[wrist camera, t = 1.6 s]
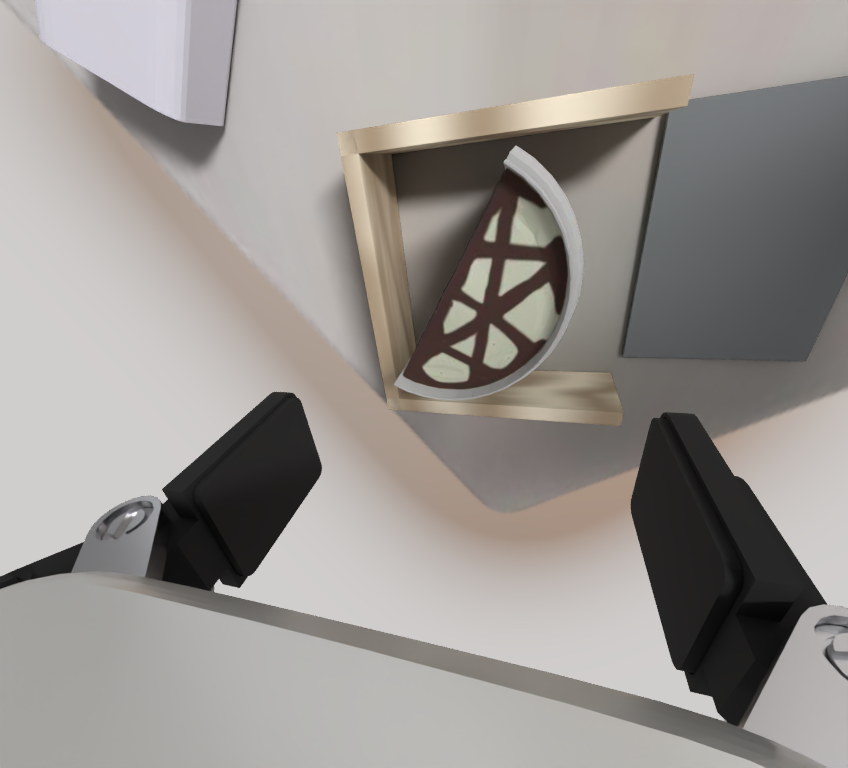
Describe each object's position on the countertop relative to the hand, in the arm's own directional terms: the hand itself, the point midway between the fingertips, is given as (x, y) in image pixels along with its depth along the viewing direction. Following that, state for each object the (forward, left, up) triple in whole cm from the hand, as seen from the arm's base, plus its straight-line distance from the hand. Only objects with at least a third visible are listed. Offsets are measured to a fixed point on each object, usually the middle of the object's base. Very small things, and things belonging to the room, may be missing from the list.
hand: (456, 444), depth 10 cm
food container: (0, 0, -18) cm, 18 cm away
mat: (-13, -1, -18) cm, 22 cm away
